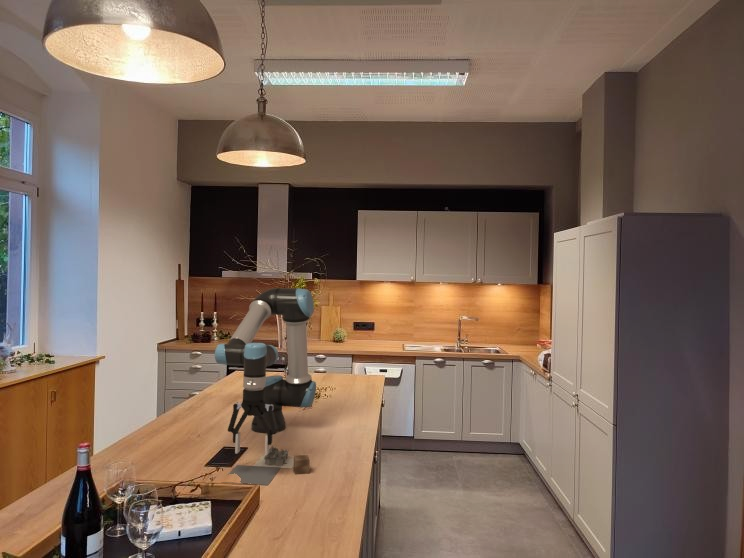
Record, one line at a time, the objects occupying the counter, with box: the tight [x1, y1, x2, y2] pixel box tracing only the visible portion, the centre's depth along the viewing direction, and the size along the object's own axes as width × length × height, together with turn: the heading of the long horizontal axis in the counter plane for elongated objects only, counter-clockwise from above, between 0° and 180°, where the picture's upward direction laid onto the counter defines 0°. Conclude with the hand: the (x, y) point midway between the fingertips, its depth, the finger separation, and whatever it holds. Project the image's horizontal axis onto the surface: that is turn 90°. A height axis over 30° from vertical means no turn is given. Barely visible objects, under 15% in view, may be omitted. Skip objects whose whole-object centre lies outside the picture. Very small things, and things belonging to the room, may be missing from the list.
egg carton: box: [264, 445, 290, 466], centre depth 196 cm, size 11×8×4 cm
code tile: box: [253, 454, 294, 470], centre depth 196 cm, size 14×12×1 cm
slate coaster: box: [227, 464, 282, 486], centre depth 182 cm, size 16×16×1 cm
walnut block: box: [292, 454, 311, 476], centre depth 187 cm, size 5×5×5 cm
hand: (252, 453), depth 182 cm, fingers open, 10 cm apart
